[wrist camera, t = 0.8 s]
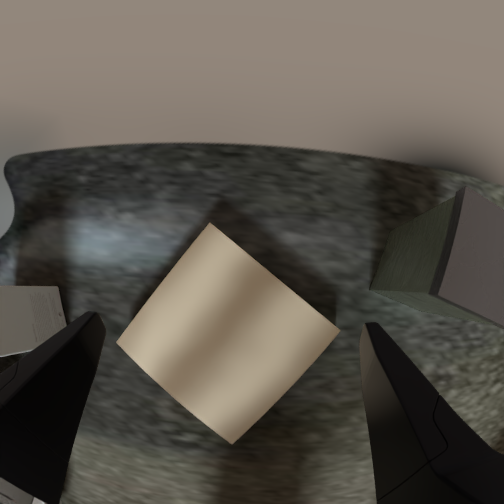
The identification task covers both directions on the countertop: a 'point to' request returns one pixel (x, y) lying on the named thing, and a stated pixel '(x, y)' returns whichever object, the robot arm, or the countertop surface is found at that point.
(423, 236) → the tea tin
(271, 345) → the wooden block
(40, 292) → the small box
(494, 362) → the countertop surface
